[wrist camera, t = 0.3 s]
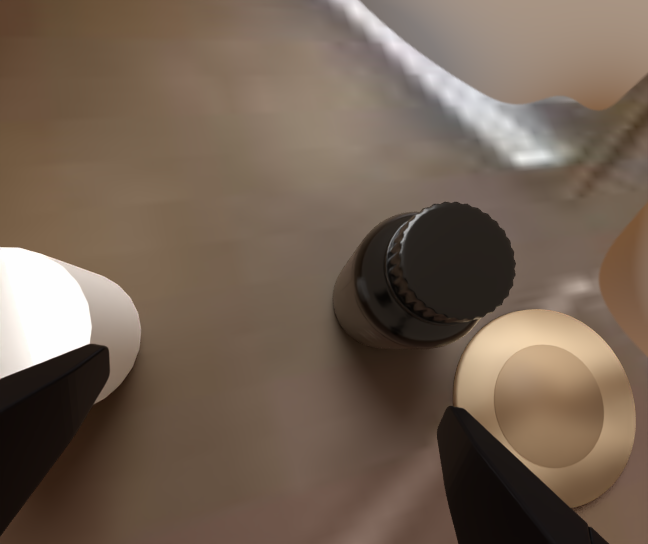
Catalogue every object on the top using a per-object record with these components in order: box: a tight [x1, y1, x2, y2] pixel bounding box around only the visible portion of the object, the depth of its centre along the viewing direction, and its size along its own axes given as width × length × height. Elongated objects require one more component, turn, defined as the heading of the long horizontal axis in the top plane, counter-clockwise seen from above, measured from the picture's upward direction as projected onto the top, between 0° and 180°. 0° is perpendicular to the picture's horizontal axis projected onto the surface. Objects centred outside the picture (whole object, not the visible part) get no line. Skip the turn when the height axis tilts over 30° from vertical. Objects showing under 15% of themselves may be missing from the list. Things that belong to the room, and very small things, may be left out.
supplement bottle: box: [333, 202, 516, 349], centre depth 19 cm, size 7×7×12 cm
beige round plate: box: [453, 309, 636, 508], centre depth 24 cm, size 13×13×1 cm
